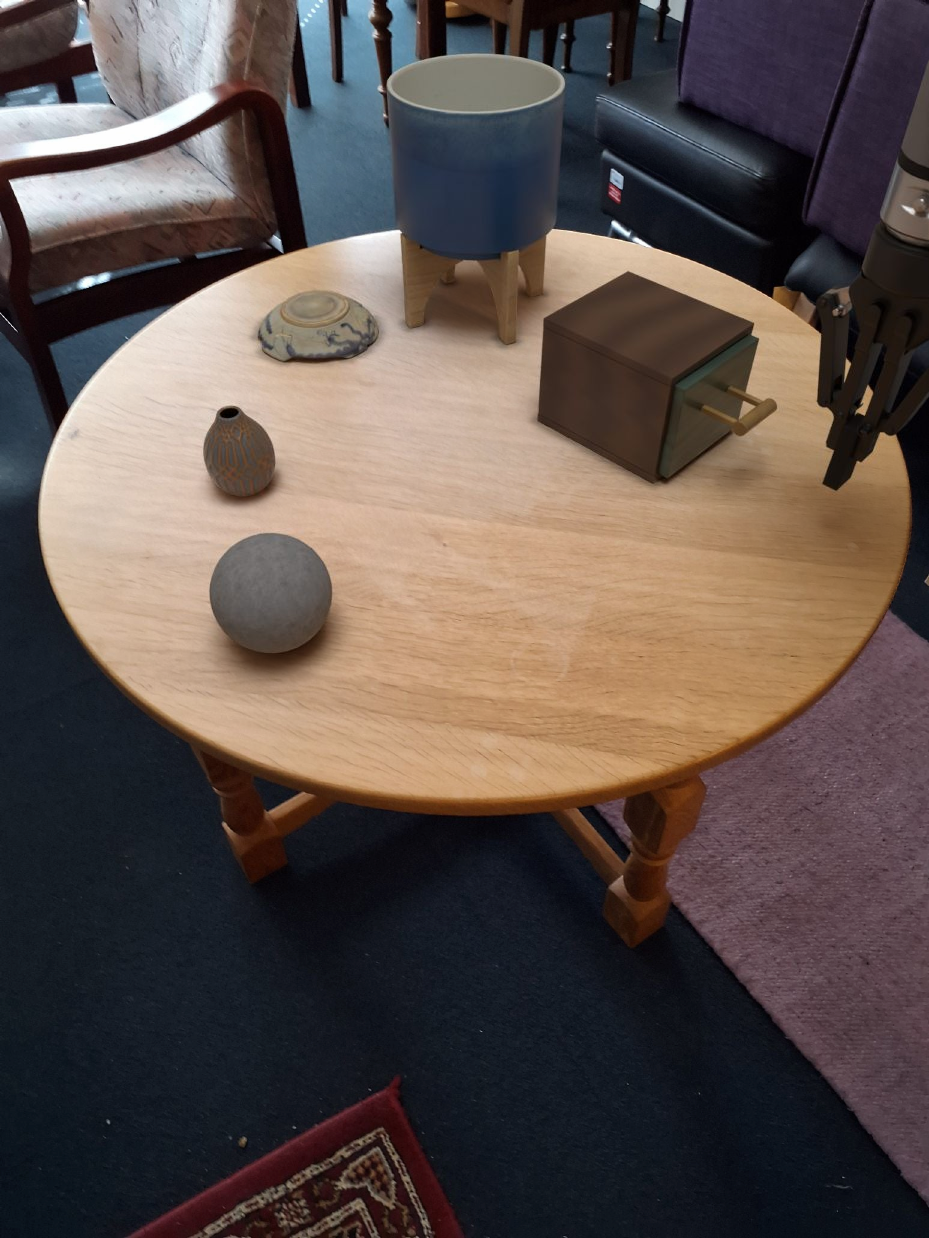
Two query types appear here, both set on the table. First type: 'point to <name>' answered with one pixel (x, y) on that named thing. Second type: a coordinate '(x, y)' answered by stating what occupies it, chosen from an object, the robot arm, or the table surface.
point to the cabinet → (626, 365)
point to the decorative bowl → (317, 327)
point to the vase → (238, 453)
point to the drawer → (712, 406)
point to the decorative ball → (270, 592)
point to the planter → (475, 173)
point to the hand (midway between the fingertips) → (836, 480)
